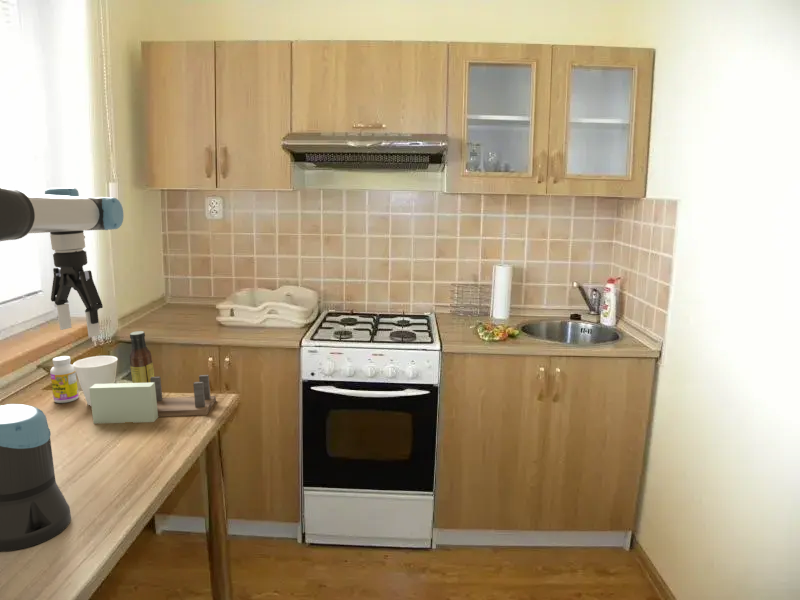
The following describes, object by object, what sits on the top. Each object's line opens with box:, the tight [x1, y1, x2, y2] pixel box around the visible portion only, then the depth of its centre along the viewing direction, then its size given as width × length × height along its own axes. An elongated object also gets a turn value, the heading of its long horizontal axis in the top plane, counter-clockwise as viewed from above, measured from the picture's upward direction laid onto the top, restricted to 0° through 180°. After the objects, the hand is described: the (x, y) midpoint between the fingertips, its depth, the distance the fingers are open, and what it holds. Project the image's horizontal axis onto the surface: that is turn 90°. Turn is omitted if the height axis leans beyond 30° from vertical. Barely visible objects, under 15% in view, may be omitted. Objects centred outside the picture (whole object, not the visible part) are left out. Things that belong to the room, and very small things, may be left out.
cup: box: [72, 355, 119, 407], centre depth 190 cm, size 12×12×12 cm
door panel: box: [89, 382, 159, 425], centre depth 176 cm, size 4×16×10 cm, turn 91°
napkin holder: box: [150, 374, 217, 417], centre depth 184 cm, size 11×18×8 cm, turn 93°
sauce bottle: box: [129, 330, 156, 383], centre depth 193 cm, size 7×6×20 cm
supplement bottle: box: [49, 355, 80, 404], centre depth 192 cm, size 7×7×13 cm
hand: (79, 332), depth 168 cm, fingers open, 13 cm apart
